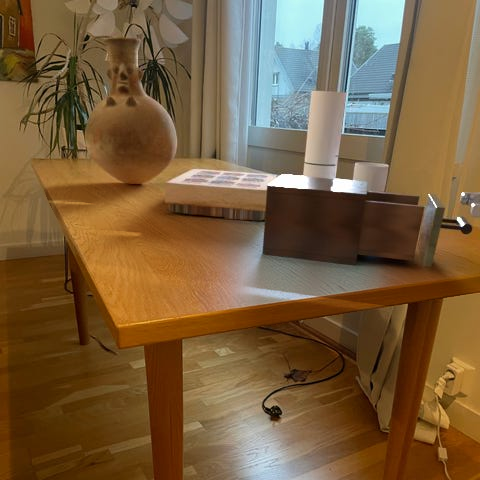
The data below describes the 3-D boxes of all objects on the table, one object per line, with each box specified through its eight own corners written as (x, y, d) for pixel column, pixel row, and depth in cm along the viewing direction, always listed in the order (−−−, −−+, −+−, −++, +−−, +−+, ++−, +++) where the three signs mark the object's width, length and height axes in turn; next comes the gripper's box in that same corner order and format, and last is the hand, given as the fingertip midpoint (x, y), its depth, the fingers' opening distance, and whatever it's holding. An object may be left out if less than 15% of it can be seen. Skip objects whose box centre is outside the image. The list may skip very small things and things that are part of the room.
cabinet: (358, 244, 86) (368, 181, 81) (355, 265, 75) (366, 194, 70) (276, 235, 89) (281, 174, 84) (262, 254, 78) (267, 185, 73)
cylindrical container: (335, 212, 110) (351, 93, 100) (323, 217, 104) (339, 91, 94) (306, 207, 113) (319, 91, 103) (294, 212, 108) (306, 90, 97)
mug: (377, 228, 98) (388, 167, 93) (344, 224, 100) (353, 164, 95) (381, 218, 106) (390, 162, 101) (351, 214, 108) (359, 159, 103)
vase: (104, 175, 143) (94, 41, 128) (183, 179, 143) (182, 45, 128) (76, 188, 122) (60, 29, 107) (169, 193, 121) (167, 34, 106)
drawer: (455, 250, 82) (468, 197, 78) (466, 271, 71) (482, 211, 67) (345, 238, 86) (352, 186, 82) (340, 256, 75) (348, 198, 71)
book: (183, 192, 126) (151, 212, 100) (184, 166, 123) (151, 181, 98) (276, 199, 123) (267, 222, 98) (278, 173, 121) (270, 190, 95)
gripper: (584, 253, 62) (472, 240, 65) (538, 219, 80) (452, 211, 83) (602, 204, 60) (484, 194, 63) (550, 181, 78) (460, 173, 81)
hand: (465, 203), depth 73 cm, fingers open, 8 cm apart
